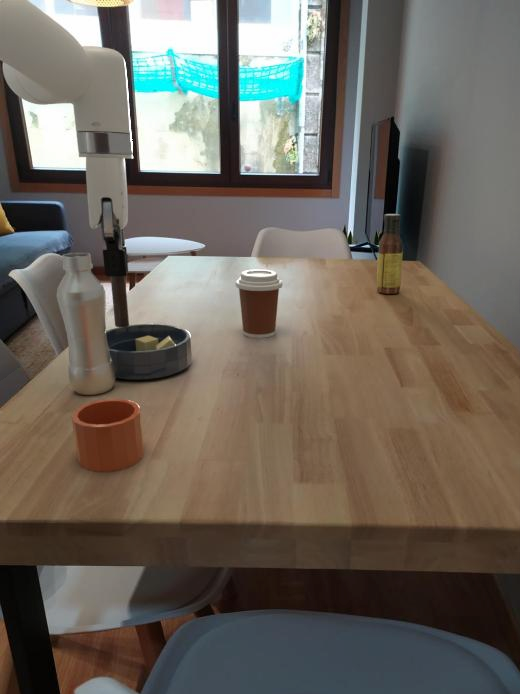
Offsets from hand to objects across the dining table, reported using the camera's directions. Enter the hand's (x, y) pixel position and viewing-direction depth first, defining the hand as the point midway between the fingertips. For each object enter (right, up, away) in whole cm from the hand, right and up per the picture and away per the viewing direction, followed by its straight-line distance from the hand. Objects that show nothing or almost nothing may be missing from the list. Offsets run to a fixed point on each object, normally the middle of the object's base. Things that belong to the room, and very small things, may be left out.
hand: (117, 273), depth 86 cm
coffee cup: (+21, -7, +23) cm, 32 cm away
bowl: (+3, -14, +5) cm, 16 cm away
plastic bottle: (-2, -19, -5) cm, 20 cm away
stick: (0, -8, +3) cm, 9 cm away
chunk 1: (+2, -11, +7) cm, 14 cm away
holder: (+7, -26, -23) cm, 35 cm away
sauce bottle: (+53, +7, +59) cm, 80 cm away
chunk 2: (+7, -12, +4) cm, 15 cm away
